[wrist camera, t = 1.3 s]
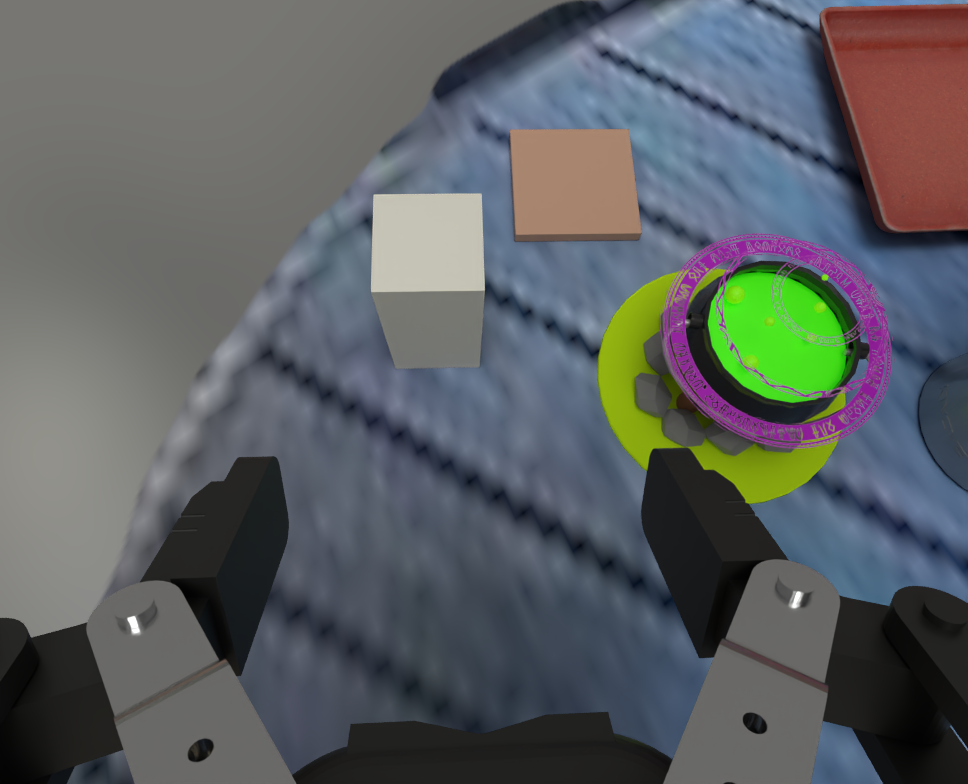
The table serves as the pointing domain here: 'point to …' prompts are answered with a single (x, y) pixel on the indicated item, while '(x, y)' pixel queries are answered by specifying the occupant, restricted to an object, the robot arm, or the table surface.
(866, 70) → the plant saucer
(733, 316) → the toy cauldron
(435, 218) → the plain off-white block
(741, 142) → the table surface
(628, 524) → the table surface
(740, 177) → the table surface
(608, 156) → the coaster
